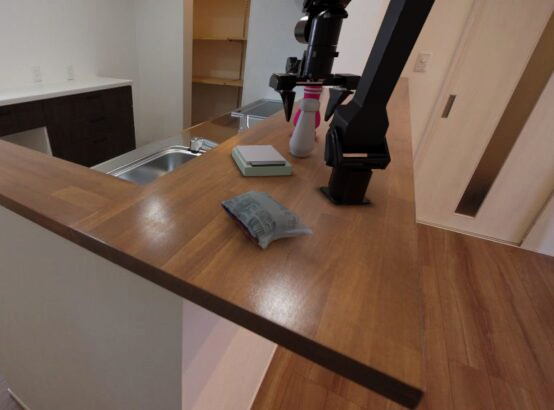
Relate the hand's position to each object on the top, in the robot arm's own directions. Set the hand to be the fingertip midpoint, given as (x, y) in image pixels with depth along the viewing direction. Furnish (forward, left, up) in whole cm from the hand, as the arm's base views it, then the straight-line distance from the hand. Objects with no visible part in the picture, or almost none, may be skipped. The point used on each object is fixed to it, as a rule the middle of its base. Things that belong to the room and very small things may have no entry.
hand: (306, 121), depth 70 cm
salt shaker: (0, 0, -8) cm, 8 cm away
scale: (-6, +12, -8) cm, 16 cm away
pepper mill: (+14, -7, -8) cm, 18 cm away
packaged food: (-31, +19, -8) cm, 37 cm away
